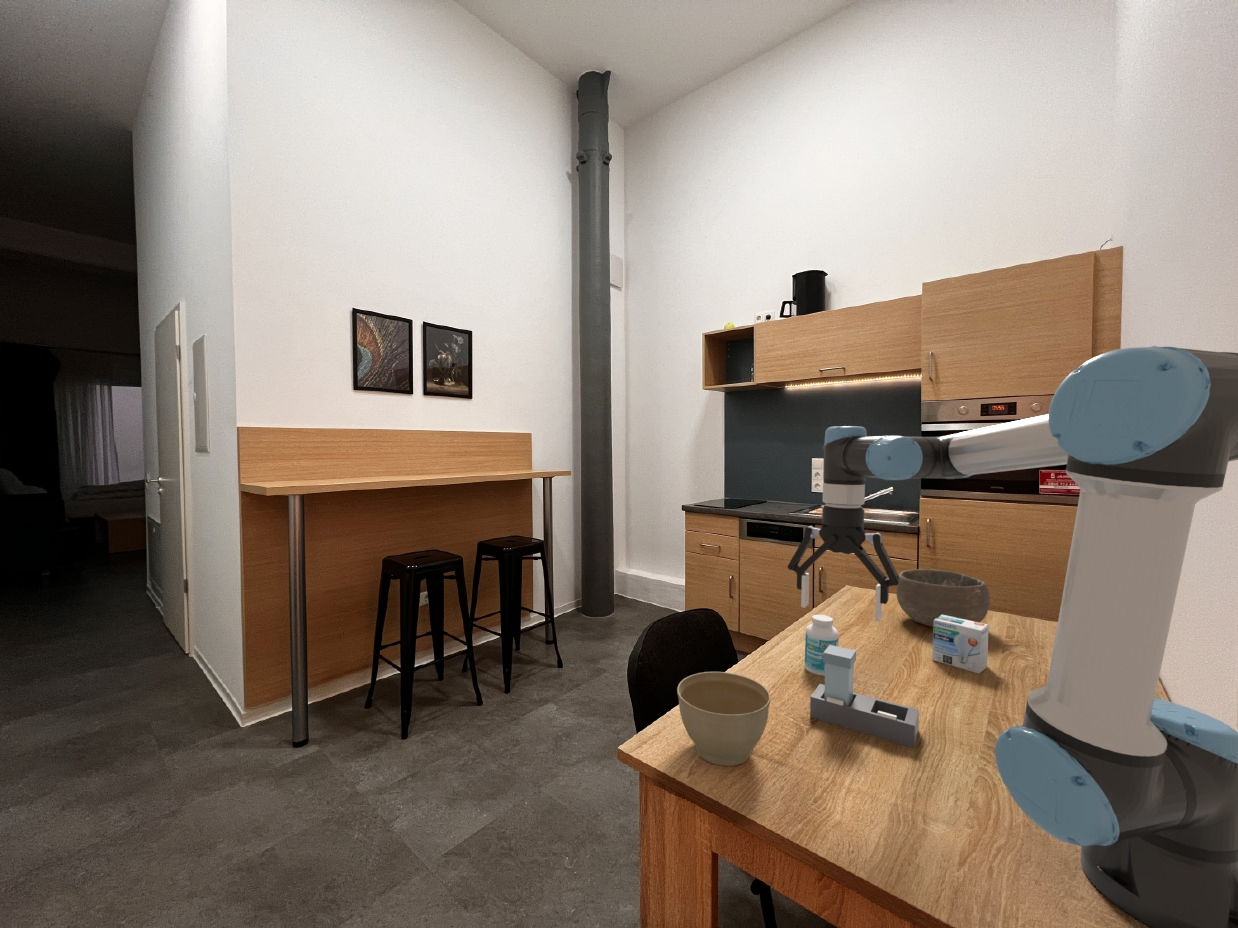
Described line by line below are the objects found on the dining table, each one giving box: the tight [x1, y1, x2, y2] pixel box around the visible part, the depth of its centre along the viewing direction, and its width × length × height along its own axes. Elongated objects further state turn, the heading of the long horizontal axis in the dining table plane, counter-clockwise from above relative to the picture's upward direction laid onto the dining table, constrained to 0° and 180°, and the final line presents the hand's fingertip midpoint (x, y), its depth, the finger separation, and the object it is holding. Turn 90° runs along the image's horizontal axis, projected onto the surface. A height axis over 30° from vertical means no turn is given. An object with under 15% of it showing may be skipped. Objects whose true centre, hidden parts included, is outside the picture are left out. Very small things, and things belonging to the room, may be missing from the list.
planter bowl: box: [676, 671, 771, 767], centre depth 92 cm, size 16×16×11 cm
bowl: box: [895, 568, 991, 628], centre depth 159 cm, size 24×24×15 cm
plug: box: [823, 645, 857, 706], centre depth 102 cm, size 5×5×13 cm
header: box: [809, 683, 920, 749], centre depth 100 cm, size 7×18×6 cm, turn 55°
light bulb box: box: [931, 615, 990, 674], centre depth 130 cm, size 11×7×11 cm, turn 42°
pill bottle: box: [804, 614, 840, 677], centre depth 124 cm, size 8×7×14 cm
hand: (840, 612), depth 102 cm, fingers open, 13 cm apart
